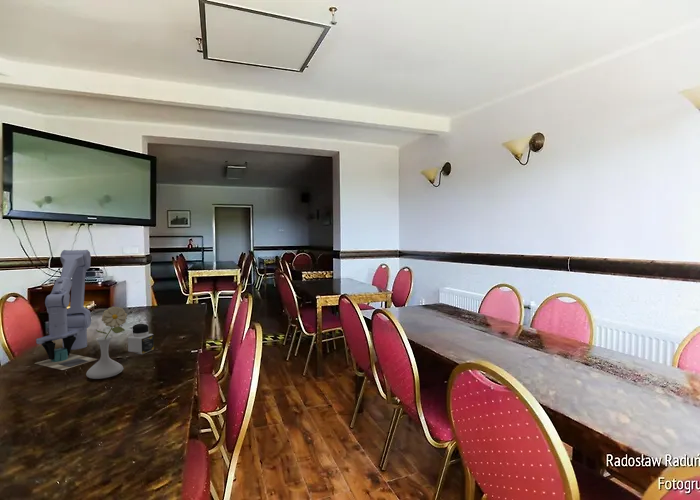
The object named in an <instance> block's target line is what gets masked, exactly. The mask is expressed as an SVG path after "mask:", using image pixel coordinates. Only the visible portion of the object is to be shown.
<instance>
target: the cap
mask: <svg viewBox="0 0 700 500" xmlns="http://www.w3.org/2000/svg"><path fill="white" fill-rule="evenodd" d="M67 359H68V351H67V348H63V347H59V348H55V349H54V360H51V361H52V362H60V361H64V360H67Z"/></svg>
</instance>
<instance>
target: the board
mask: <svg viewBox="0 0 700 500" xmlns="http://www.w3.org/2000/svg"><path fill="white" fill-rule="evenodd" d="M97 360H98V361H99V358H94V357H89V356H83V355H79V354H73V353H70V355H69V356H68V359H67V360H64V361H60V362H52V361H51V360H50V359H49V358H48V359H46V360H42V361H37V362H35V363H34V364H36V365H39V366H44V367H48V368H51V369H56V370H61V371H63V370H64V371H65V370H68V369H70V368H71V369H72V368H74V367H77V366H81V365H84V364H87V363H90V362H94V361H97Z"/></svg>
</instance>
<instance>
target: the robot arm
mask: <svg viewBox="0 0 700 500" xmlns="http://www.w3.org/2000/svg"><path fill="white" fill-rule="evenodd" d="M59 255H60V256H59V257H60V259H59V260H60V262H61V264H62V268H61V273H60V276H59V277H58V278H57V279H55V281H54V285H53V287H52V290H51V292H50V294H48V295H46V297H45V300H44V304H45V307H46V312H47V314H48V327H49V329H48V330H49V333H48V335H45V336H41V337H39V338H36V339H35V341H36V343H35V344H37V345H41V346H42V347H43V348H44V350H45V351H46V354H47V356H48V359H50V360H54V349H56V342H53V341H58V340H62V348H67V351H68V356H69V355H70V354H71V350H73V351H74V350H81V349H85V348H86V347H88V332H87V331H88V328H90V326H91V325H92V317H91V316H92V315H91V313H92V312H91V311H90V309H89V308H87V307H85V304H84V302H85V290H86V289H85V288H86V273H87V271H88V270H89V269H90V268H91V264H92V263H91V260H92V256H91V252H90V251H89V249H71V250H70V249H69V250H68V249H64V250H61V253H60V254H59ZM68 306H69V307H68Z"/></svg>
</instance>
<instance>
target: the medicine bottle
mask: <svg viewBox="0 0 700 500" xmlns="http://www.w3.org/2000/svg"><path fill="white" fill-rule="evenodd" d="M154 345H155V341H154V334H153V333H149V324H147V323H137V324H134V325H133V326H132V335H131V336H130V335H129V336H128V337H127V349H128V350H127V352H131V353H133V354H134V355H145V354H146V353H149V352H151V351H154V350H155V346H154Z"/></svg>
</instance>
